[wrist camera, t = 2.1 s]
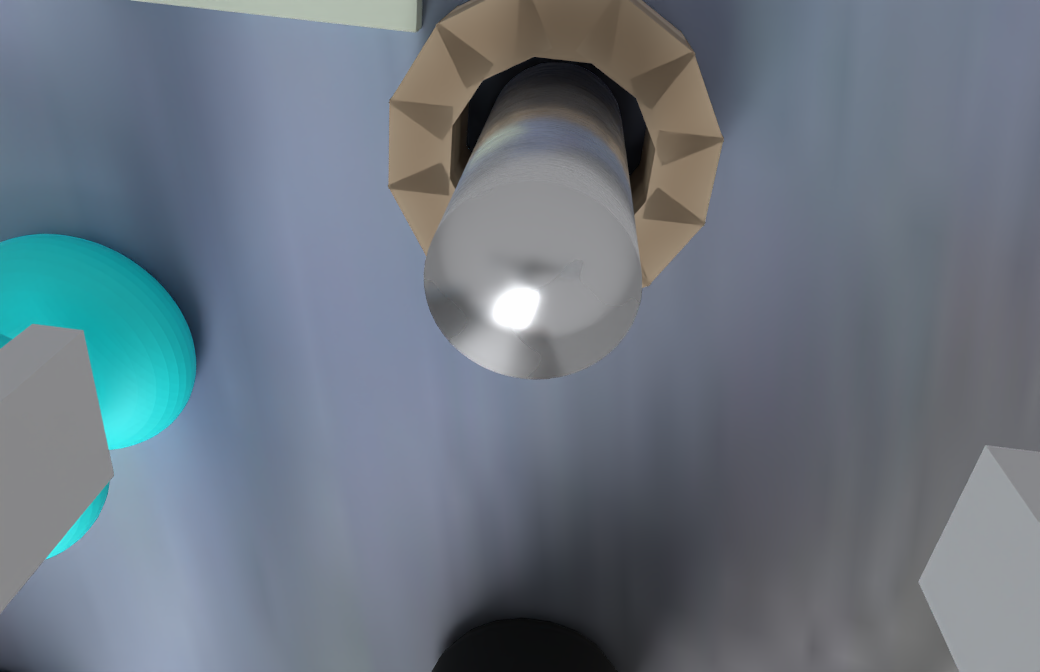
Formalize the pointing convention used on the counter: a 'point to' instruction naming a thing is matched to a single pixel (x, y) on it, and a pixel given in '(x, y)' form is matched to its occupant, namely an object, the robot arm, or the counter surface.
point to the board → (323, 11)
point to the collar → (573, 37)
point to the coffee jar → (523, 649)
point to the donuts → (103, 334)
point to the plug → (540, 232)
